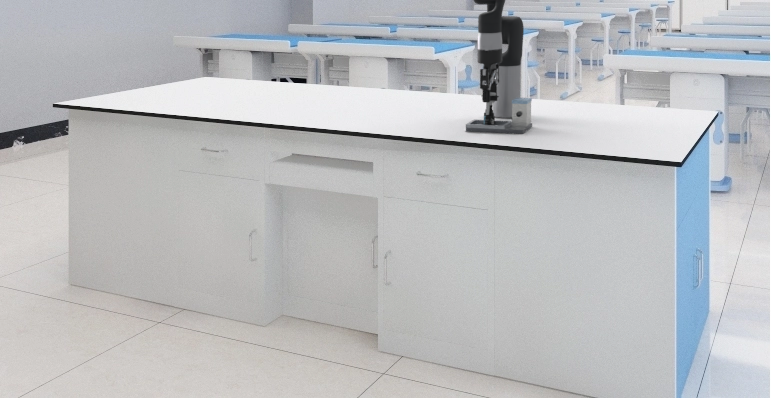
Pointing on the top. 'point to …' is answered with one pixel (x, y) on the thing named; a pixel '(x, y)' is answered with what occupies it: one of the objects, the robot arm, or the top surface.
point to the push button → (489, 110)
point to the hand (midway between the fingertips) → (489, 100)
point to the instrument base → (516, 126)
